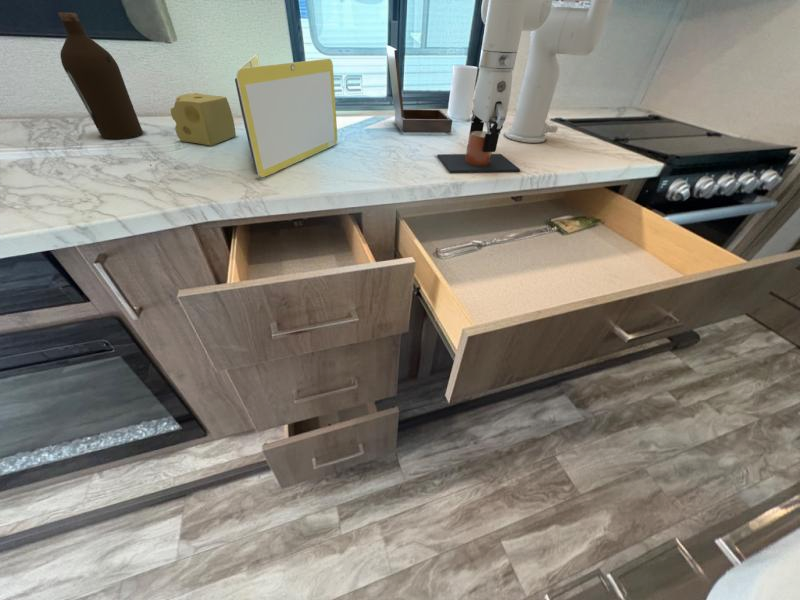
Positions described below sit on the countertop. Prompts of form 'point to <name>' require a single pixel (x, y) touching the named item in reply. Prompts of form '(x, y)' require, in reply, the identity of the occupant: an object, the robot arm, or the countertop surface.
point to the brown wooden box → (423, 121)
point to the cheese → (203, 119)
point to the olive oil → (98, 82)
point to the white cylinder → (461, 91)
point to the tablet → (286, 111)
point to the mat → (458, 165)
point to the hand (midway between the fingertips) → (481, 145)
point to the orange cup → (477, 149)
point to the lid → (395, 80)
